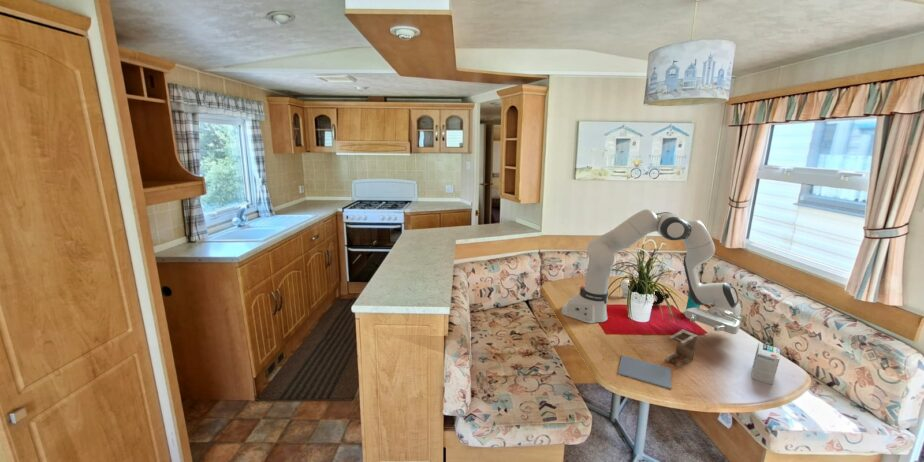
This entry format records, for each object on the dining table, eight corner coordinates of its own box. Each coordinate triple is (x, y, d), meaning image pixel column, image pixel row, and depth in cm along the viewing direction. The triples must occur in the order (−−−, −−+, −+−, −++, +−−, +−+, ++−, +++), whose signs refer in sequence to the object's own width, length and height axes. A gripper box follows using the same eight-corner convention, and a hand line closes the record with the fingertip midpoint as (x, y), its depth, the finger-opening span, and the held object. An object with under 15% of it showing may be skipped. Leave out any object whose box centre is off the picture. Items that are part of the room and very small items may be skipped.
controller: (648, 299, 213) (651, 282, 211) (668, 307, 202) (671, 290, 200) (643, 300, 211) (645, 283, 209) (663, 309, 201) (666, 291, 198)
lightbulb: (618, 298, 212) (621, 280, 210) (618, 294, 218) (620, 277, 215) (630, 300, 210) (633, 282, 208) (630, 296, 216) (632, 278, 213)
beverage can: (699, 317, 192) (705, 290, 189) (687, 316, 193) (692, 288, 190) (695, 312, 198) (700, 285, 194) (683, 311, 199) (688, 284, 195)
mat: (617, 373, 143) (617, 372, 143) (621, 356, 155) (621, 355, 155) (670, 389, 135) (671, 388, 135) (670, 369, 147) (670, 368, 147)
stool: (678, 352, 159) (682, 329, 156) (693, 359, 154) (697, 335, 152) (664, 361, 153) (668, 336, 150) (679, 368, 148) (684, 343, 145)
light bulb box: (752, 365, 151) (758, 341, 149) (773, 372, 147) (780, 348, 144) (750, 378, 143) (757, 352, 141) (773, 385, 139) (780, 359, 136)
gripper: (694, 301, 175) (679, 309, 167) (745, 318, 159) (731, 327, 151) (692, 314, 177) (677, 321, 169) (742, 332, 160) (729, 341, 153)
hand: (703, 324), depth 160 cm, fingers open, 8 cm apart
